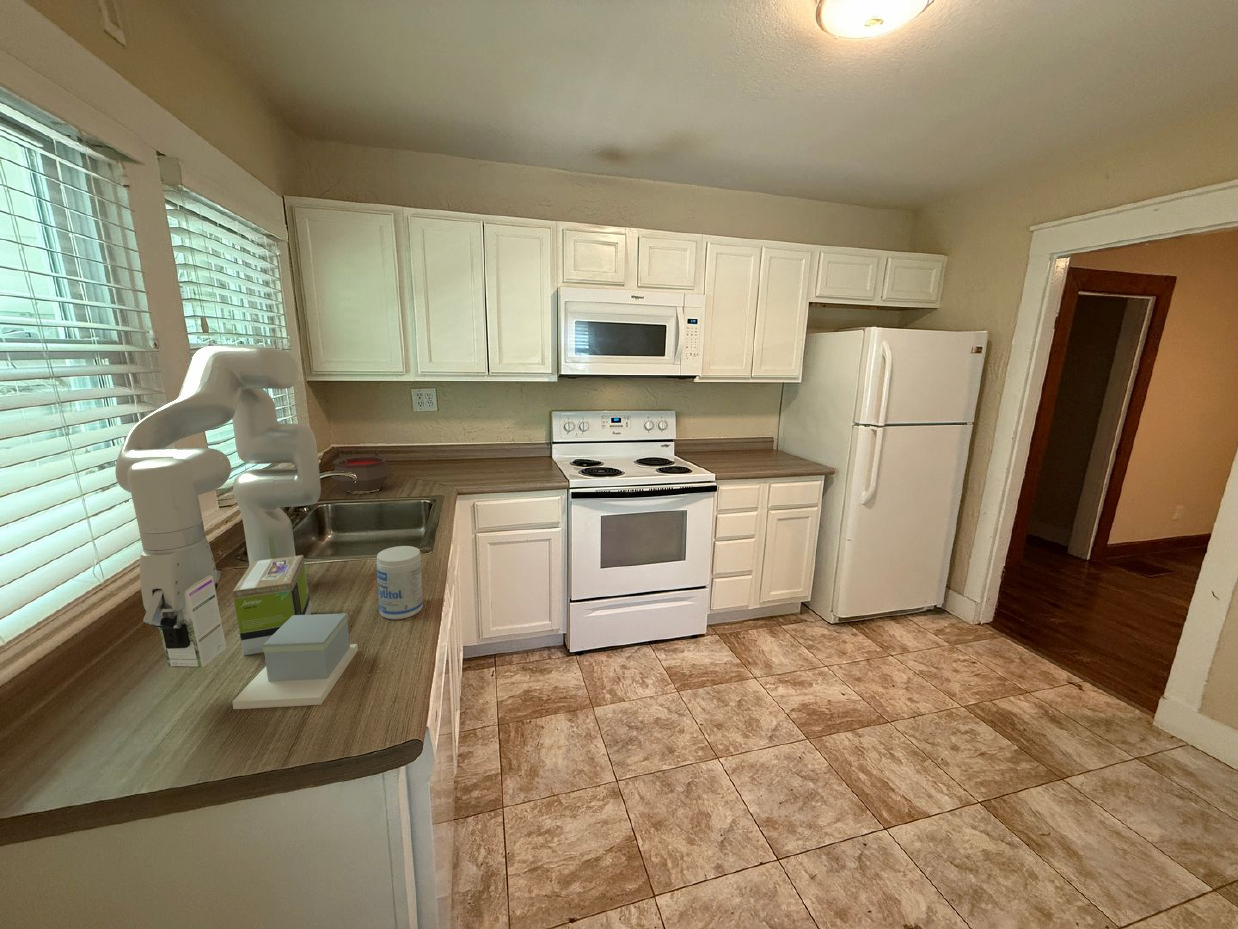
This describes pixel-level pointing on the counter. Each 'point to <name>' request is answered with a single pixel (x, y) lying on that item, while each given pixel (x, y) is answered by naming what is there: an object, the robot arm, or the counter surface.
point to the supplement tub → (399, 582)
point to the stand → (300, 663)
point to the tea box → (269, 599)
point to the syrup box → (198, 627)
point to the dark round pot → (362, 472)
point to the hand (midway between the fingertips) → (193, 634)
